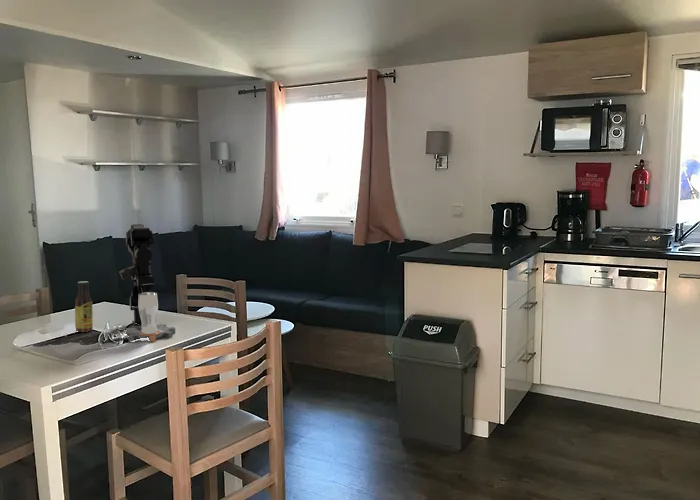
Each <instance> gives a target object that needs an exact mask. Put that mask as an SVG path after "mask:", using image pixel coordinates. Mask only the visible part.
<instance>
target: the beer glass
mask: <svg viewBox="0 0 700 500" xmlns="http://www.w3.org/2000/svg"><path fill="white" fill-rule="evenodd" d="M138 307H139V313H140V318H141V323H142V327H141V326H140V327H141V334H145V335H148V334H155V333H157V332H158V329H157V326H158V325H157V320H158V319H157V317H158V311H159V301H158V292H154V291H151V292H144V293H139V297H138Z"/></svg>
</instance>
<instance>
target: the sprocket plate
mask: <svg viewBox="0 0 700 500" xmlns="http://www.w3.org/2000/svg"><path fill="white" fill-rule="evenodd" d="M141 327H142V325H139V326H136V327H127V328H125V329H126V330H127V331H126V334H127V335H128V336H129V337H128V338H129V339H130V340H136V339H140V338H147V337H148V338H149V340H150V341H148V342H149V343H153V342H157V341H158V340H163V339H171V338H173V335H174V334H176V327H175V326H167V324H158V325H157V329H158V332H157V333H155V334H148V335H145V334H141Z"/></svg>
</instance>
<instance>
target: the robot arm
mask: <svg viewBox="0 0 700 500" xmlns="http://www.w3.org/2000/svg"><path fill="white" fill-rule="evenodd" d="M125 233H126V234H125V245H126V247H127V248H128V249H127V250H128V252H129V253H130V254H131V256H132V265H131V266H130V267H126V268H124V269H121V270H120V271H118V272H119V275H120V277H121V279H122V280H123V281H125V280H127V279H129V278H131V279H132V281H133V282H134V286H133V288H132V290H131V295H130V296H129V309H130V311H133V320H132V321H131V323H132V324H133V323H137V324H135V325H134V326H140V325H142V323H141V318H140V313H139V307H138V297H139V293H144V292H152V289H153V288H154V286H155V284H156V278H155V277H154V276H153V275H152V272H151V265H152V262H151V260H152V259H153V252H152V250H151V249H150V246H152V247H153V246H154V244H155V237H154V233H153V231H152V230H151V229H150V228H149V227H145V226H144V224H142V223H139V224H136V223H135V224H131V225H130V228H129V229H128V231H127V232H125ZM138 324H139V325H138Z"/></svg>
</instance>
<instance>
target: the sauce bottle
mask: <svg viewBox="0 0 700 500" xmlns="http://www.w3.org/2000/svg"><path fill="white" fill-rule="evenodd" d="M89 285H90V282H89V281H85V280H84V281H83V280H82V281H78V282H77V295H76V297H75V300H74V302H75V303H74V304H75V305H74V314H75V315H74V316H75V319H74V320H75V324H74V325H75V326H74V327H75V332H76V331H78V332H86V333H88V332H87V331H91V330H92V331H93V328H94V327H93V326H94V320H93V300H92V297H91V296H90V291H89ZM92 331H91V332H92Z"/></svg>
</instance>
